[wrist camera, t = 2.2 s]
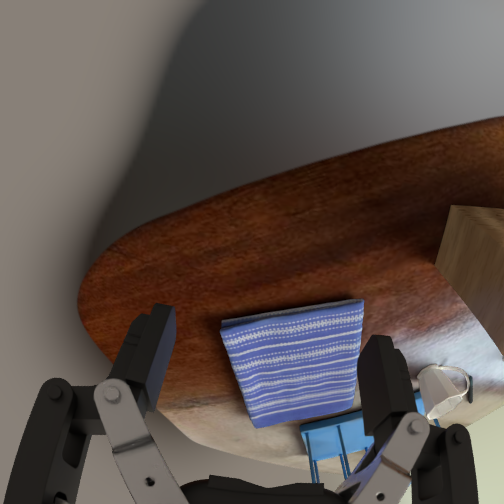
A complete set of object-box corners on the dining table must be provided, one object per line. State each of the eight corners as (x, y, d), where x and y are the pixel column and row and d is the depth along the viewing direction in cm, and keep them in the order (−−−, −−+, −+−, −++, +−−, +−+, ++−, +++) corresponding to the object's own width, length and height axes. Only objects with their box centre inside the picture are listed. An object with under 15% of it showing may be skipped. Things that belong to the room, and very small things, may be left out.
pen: (471, 406, 54) (473, 402, 55) (470, 380, 47) (473, 376, 48) (467, 404, 55) (470, 400, 55) (466, 378, 48) (469, 374, 48)
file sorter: (428, 385, 48) (457, 452, 35) (414, 424, 56) (434, 479, 43) (299, 424, 50) (310, 500, 37) (309, 455, 59) (318, 514, 45)
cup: (412, 367, 44) (430, 405, 37) (461, 347, 43) (482, 381, 36) (407, 389, 47) (422, 425, 40) (453, 370, 46) (471, 403, 40)
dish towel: (250, 417, 48) (251, 431, 45) (215, 317, 36) (214, 335, 33) (351, 400, 47) (355, 413, 45) (362, 292, 35) (370, 308, 33)
